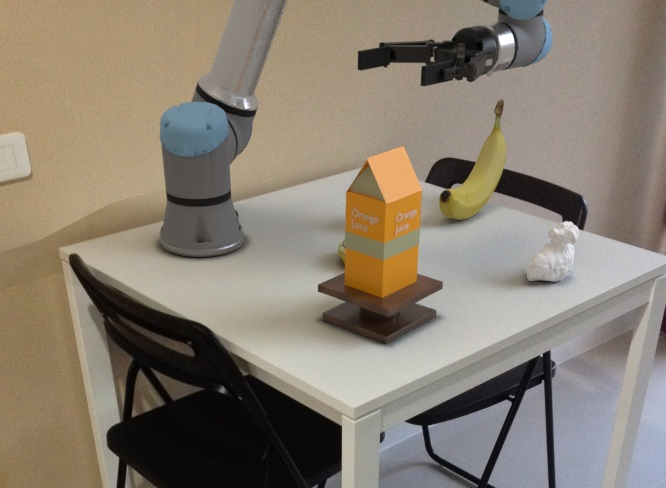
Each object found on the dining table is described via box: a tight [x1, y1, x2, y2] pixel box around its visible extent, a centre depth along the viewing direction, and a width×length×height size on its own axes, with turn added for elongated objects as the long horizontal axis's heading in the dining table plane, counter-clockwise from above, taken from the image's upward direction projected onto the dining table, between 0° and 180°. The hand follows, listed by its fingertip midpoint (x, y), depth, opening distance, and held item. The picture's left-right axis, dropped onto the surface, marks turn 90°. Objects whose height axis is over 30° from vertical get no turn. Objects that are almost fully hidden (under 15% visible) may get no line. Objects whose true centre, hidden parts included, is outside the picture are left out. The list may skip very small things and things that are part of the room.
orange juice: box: [344, 145, 423, 298], centre depth 147 cm, size 8×9×20 cm
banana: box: [438, 99, 507, 221], centre depth 191 cm, size 23×6×20 cm, turn 146°
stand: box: [317, 271, 444, 345], centre depth 154 cm, size 14×14×6 cm
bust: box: [526, 220, 580, 283], centre depth 168 cm, size 12×8×11 cm
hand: (390, 68), depth 149 cm, fingers open, 13 cm apart
